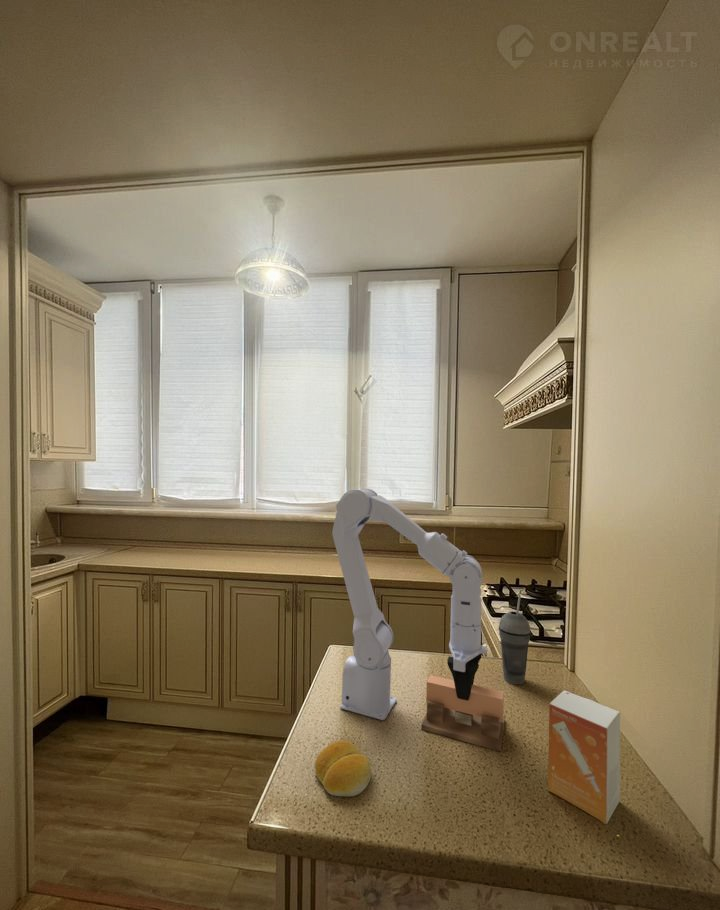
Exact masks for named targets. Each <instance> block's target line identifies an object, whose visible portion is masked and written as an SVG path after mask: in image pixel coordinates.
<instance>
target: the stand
mask: <svg viewBox="0 0 720 910" xmlns="http://www.w3.org/2000/svg"><path fill="white" fill-rule="evenodd" d="M505 717H506V716H505V715H503V723H502V722H499V718H496V717H493V716H489V715H485V714H482V716H481V717H479V716H475V715H471V714H467V713H463V712H459V711H455V710H452V709H448V708H444V704H441V703H437V702H433V701H429V700H428V701H427V703H426V713H425V716H424V718H423V719H422V720H423V721H422V722H421V726H420V727H421V728H420V729H421V730H422V731H427V732H429V733H433V734H437V735H441V736H444V737H447V738H452V739H455V740H458V741H462V742H465V743H469V744H472V745H475V746H479V747H483V748H486V749H490V750H493V751H497V752H502V747H503V746H502V745H503V736H504V729H505V728H504V727H505V720H506V719H505Z"/></svg>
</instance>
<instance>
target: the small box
mask: <svg viewBox="0 0 720 910" xmlns="http://www.w3.org/2000/svg"><path fill="white" fill-rule="evenodd" d="M548 706H549V707H548V709H549V711H548V754H547V755H548V757H547V758H548V759H547V762H548V763H547V766H548V767H547V771H548V772H547V790H548V791H549V792H550V793H552V794H555V795H556V796H557V797H560V798H561V799H563V800H565V801H566V802H567V803H570V804H572V805H573V806H575V807H577V808H579V809H580V810H582V811H584V812H585V813H587V814H589V815H590V816H591V817H594V819H595V818H596V819H597V820H598V821H600V822H601V823H603V824H605V825H608V823H609V821H610V819H611V817H612V816H613V814H614V811H615V810H616V808H617V806H618V805H619V803H620V801H621V800H620V798H621V711H618V710H615V709H613V708H611V707H608V706H606V705H604V704H600V703H598V702H596V701H595V700H592V699H589V698H586V697H584V696H580V695H577V694H574V693H573V692H570V691H567V690H563V691H561V692H560V693H559V694H558V695H557V696H555V698H554V699H553V700H552V701H551V702H550V703H549V705H548Z"/></svg>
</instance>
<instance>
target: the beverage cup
mask: <svg viewBox="0 0 720 910" xmlns="http://www.w3.org/2000/svg"><path fill="white" fill-rule="evenodd" d="M521 597H522V595H521V594H520V593H519V594H518V599H517V606H516V611H513V610H512V611H508V612H506V613H504V614H503V615H502V616H501V618H500V619H499V625H498V627H497V628H498V633H499V637H500V648H501V649H500V650H501V660H502V663H501V664H502V672H503V673H502V674H503V679H504V681H505V682H506V683H508V682H509V684H512V685H515V684H522V683H525V679H526V673H527V662H528V661H527V660H528V651H529V642H530V640H531V635H532V630H531V626H530V625H531V624H530V623H529V621H528V619H527V618H526V616H524V615H523V613H520V606H521ZM522 685H523V684H522Z"/></svg>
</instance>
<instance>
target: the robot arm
mask: <svg viewBox="0 0 720 910" xmlns="http://www.w3.org/2000/svg"><path fill="white" fill-rule="evenodd" d="M335 508H336V514H335V519H334V521H333V522H334V523H333V527H332V531H331V532H332V539H333V543H334V546H335V550H336V553H337V558H338V561H339V565H340V569H341V573H342V576H343V579H344V584H345V587H346V591H347V595H348V599H349V602H350V606H351V610H352V614H353V617H354V618H353V625H352V635H353V639H354V640H353V646H352V652H353V655H349V656H348V657H347V658H346V659H345V660H346V661H345V663H344V667H343V671H342V687H341V704H340V705H339V707H340V708H339V709H341V710H346V711H348V712H353V713H355V714H360V715H362V716H366V717H370V718H373V719H377V720H380V721H384V720H386V718H387V717H388V715H389V713H390V711H391V710H392V708H393V707H394V705H395V704H396V702H397V698H396V697H393V696H391V678H392V677H391V676H392V657H391V655H390V652H389V649H390V647H391V646H392V645H393V643H394V632H393V630H392V627H391V626H390V625H389V624H388V623H387V621H386V619H385V615H384V613H383V612H382V611H381V610H380V609H379V608H378V603H377V600H376V596H375V593H374V589H373V585H372V583H371V577H370V575H369V571H368V567H367V564H366V560H365V557H364V553H363V549H362V547H361V542H360V538H359V534H360V533H361V531H362V529H363V528H364V526H365V525H366V523H367V522H368V521H370V522H380V523H381V522H382V523H383V522H384V523H385V524H387V525H388V526H390V527H392V529H394V530H395V531H397V532H398V533H400V535H402V536H404V537H405V538H407V540H410V542H412V543H413V544H415V545H416V547H417V551H418V555H419V556H420V557H421V558H422V559H424V560H425V561H426V562H428V563H429V564H430V565H431V566H433V567H434V568H435V569H436V570H437V571H439V572H440V573H441V574H442V575H444V576H447V577H449V580H450V583H451V586H452V589H451V590H452V591H451V593H452V594H451V596H450V627H449V628H450V636H449V637H450V639H449V643H448V648H449V650H450V653H451V655H452V656H448V658H447V661H446V663H447V666H448V669H449V670H450V672H451V675H452V680H454V684H455V689H456V694H457V698H459V699H463V700H467V701H468V700H469V697H470V694H471V688H472V685H474V683H475V682H474V681H475V677H476V674H477V672H478V670H479V668H480V667H479V666H480V664H479V663H480V661H481V658H482V656H483V655H487V653H488V647H487V646H484V645H482V598H481V597H482V596H481V595H482V588H481V586H482V584H483V580H484V579H483V572H482V571H483V570H482V567H481V565H480V563H479V562H478V560H477V559H475V557H474V556H472V555H469V554H468V552H467V551H466V550H464V549H463V550H460V549H459V548H458V547H456V546H455V545H454V544H453V543H451V542H450V541H449V540H447V539H448V536H447V535H446V534H445V533H441V534H439V533H438V532H437V531H432V532H427V531H426V530H424V529H423V528H422V527H421V526H420V525H419V524H418V523H416V522H414V520H412V519H411V518H410V517H409V516H408V515H406V514H405V513H404V512H403V511H402V510H400V509H399V508H398V507H397V506H395V504H393V503H392V502H391V501H390V500H388V499H387V498H385V497H384V496H382V495H380V494H378V493H377V492H376V491H375V490H373V489H370V488H362V489H350V490H348V491H346V492H345V493H343V495H342V496H341V498H340V499H339V500H338V502H337V504H336V505H335Z"/></svg>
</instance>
